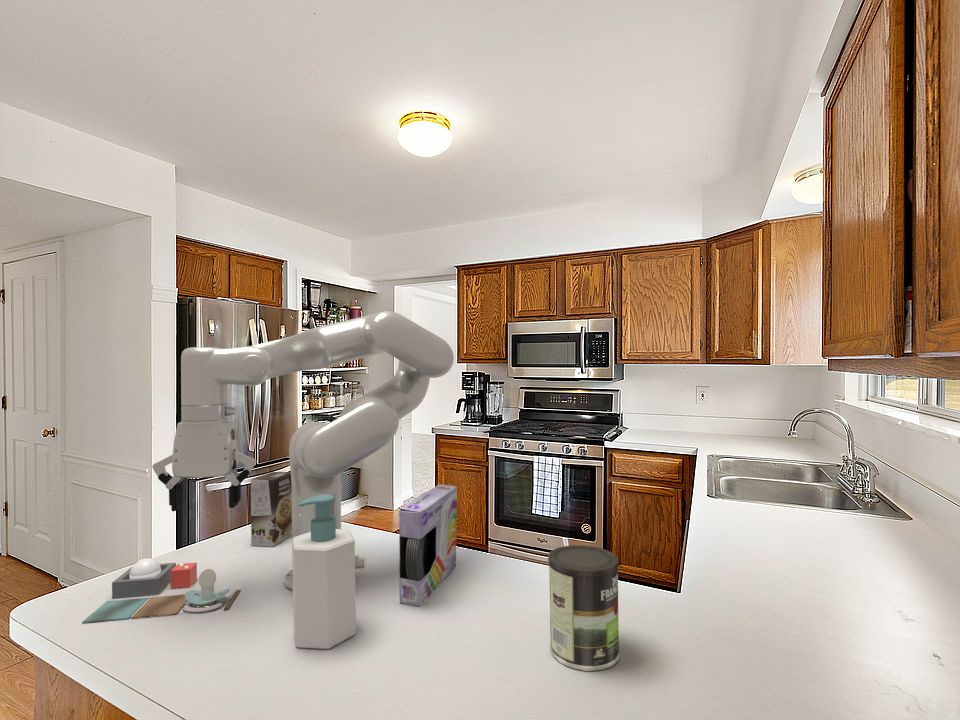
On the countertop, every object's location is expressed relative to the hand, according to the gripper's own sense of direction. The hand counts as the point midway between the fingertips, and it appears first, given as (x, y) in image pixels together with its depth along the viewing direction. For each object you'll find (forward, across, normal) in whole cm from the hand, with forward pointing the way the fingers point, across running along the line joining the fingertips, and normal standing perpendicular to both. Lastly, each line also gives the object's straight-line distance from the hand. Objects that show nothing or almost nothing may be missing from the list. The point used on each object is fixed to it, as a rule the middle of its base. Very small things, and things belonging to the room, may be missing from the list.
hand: (205, 507), depth 93 cm
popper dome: (+17, +14, -10) cm, 24 cm away
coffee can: (+17, -62, +28) cm, 70 cm away
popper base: (+17, +12, -10) cm, 23 cm away
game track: (+18, +7, 0) cm, 19 cm away
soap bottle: (+18, -23, +15) cm, 33 cm away
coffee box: (+18, -5, -33) cm, 37 cm away
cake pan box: (+18, -41, +1) cm, 44 cm away
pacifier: (+18, 0, +1) cm, 18 cm away
